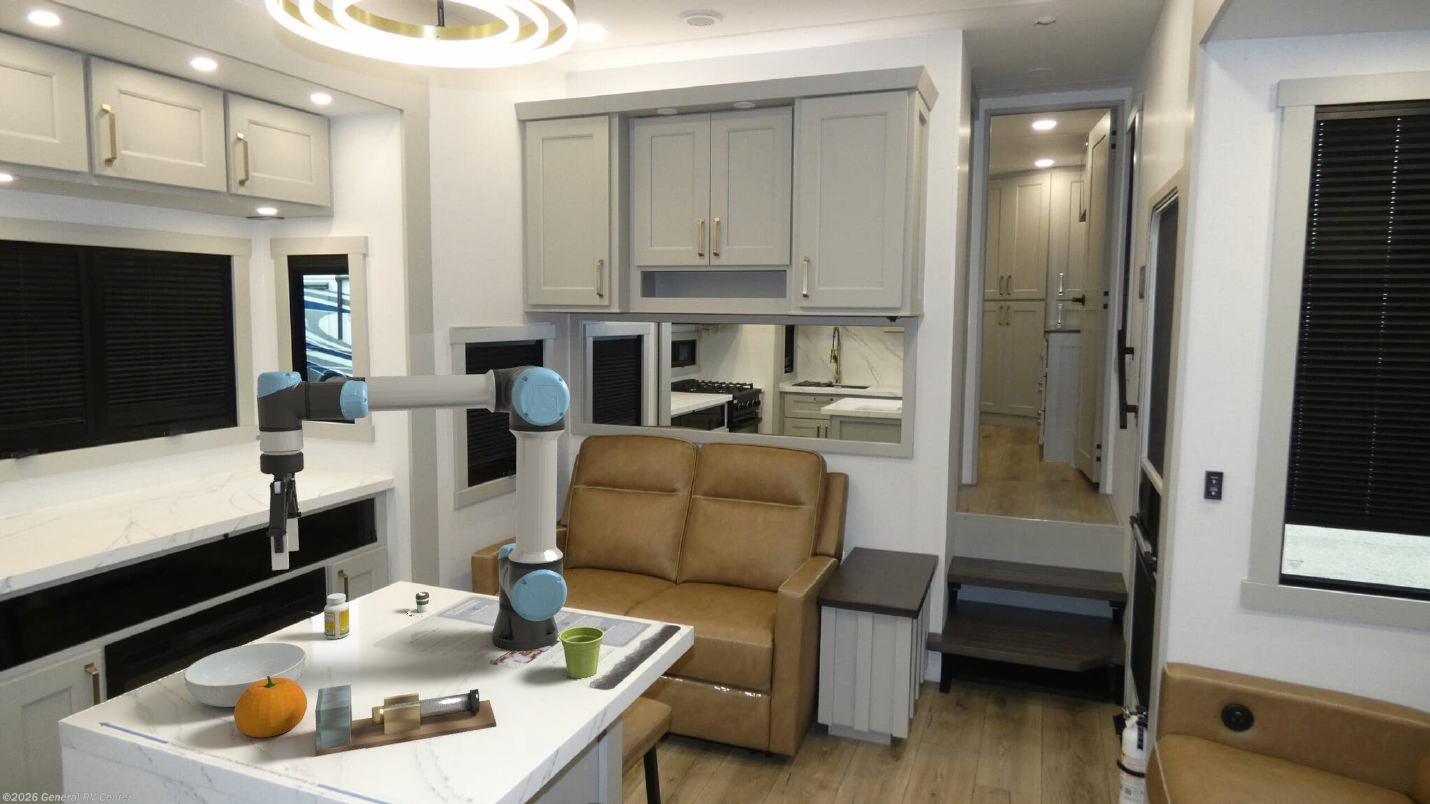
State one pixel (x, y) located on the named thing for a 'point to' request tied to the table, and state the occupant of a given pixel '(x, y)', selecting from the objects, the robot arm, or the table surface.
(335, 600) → the supplement bottle
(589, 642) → the plant pot
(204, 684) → the serving bowl
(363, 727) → the base
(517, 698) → the table surface
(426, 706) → the tube
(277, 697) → the fruit
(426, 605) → the coffee cup
